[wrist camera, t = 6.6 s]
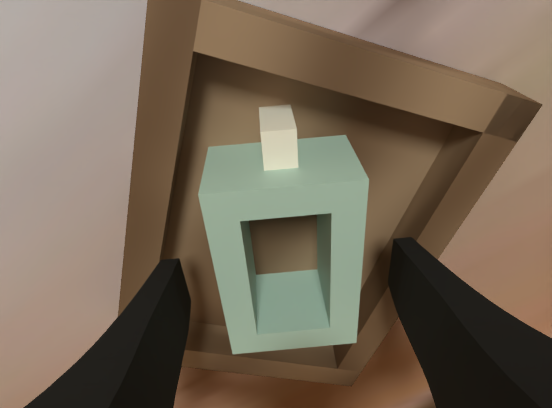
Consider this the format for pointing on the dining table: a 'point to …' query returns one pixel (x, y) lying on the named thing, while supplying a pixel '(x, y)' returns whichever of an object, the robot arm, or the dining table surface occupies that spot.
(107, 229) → the dining table surface
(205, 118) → the tray
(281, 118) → the green hollow block
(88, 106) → the dining table surface
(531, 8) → the dining table surface
